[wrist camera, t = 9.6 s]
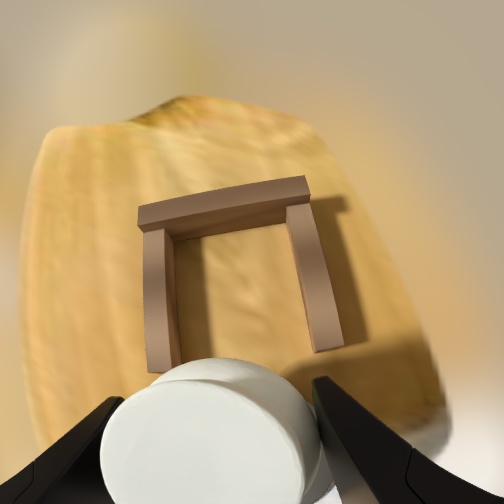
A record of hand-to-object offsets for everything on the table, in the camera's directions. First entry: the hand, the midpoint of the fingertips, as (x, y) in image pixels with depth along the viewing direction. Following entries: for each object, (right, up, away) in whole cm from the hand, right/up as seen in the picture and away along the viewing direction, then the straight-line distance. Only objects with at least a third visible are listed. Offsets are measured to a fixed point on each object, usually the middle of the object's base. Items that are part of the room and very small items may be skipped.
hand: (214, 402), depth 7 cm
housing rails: (0, +2, +12) cm, 12 cm away
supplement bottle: (+1, -4, +6) cm, 7 cm away
